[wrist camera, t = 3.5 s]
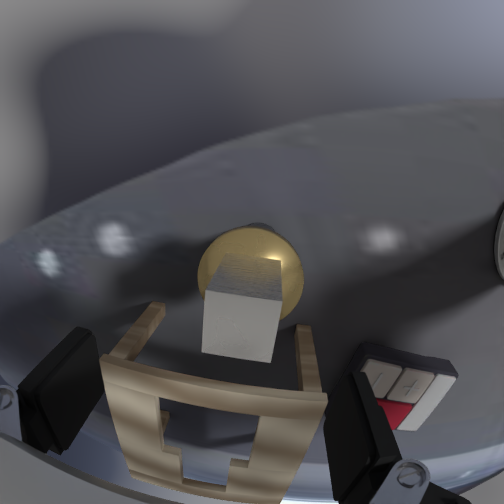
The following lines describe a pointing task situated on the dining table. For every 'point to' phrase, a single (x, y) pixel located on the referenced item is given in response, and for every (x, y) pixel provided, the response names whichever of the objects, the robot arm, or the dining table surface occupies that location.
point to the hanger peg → (247, 291)
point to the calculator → (402, 383)
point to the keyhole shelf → (216, 397)
